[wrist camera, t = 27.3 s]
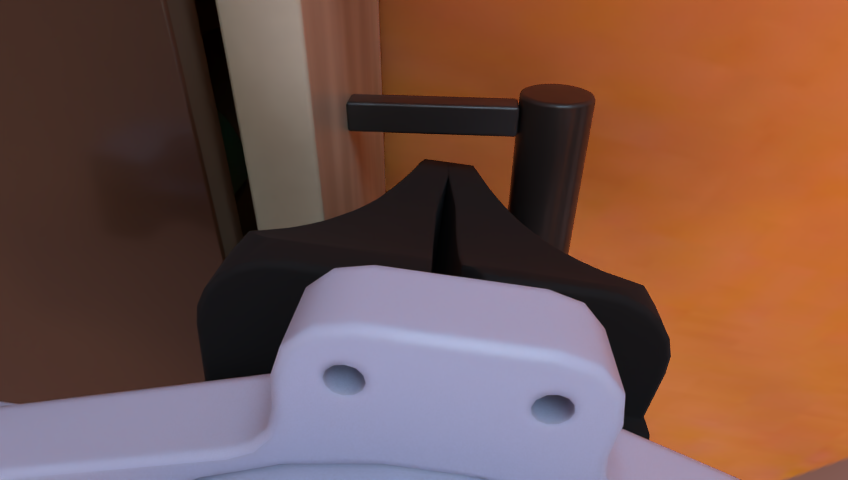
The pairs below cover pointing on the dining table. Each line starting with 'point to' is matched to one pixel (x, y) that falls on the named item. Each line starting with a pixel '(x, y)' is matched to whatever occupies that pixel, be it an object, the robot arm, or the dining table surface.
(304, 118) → the drawer
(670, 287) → the dining table surface
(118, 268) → the cabinet
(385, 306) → the robot arm
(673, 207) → the dining table surface
